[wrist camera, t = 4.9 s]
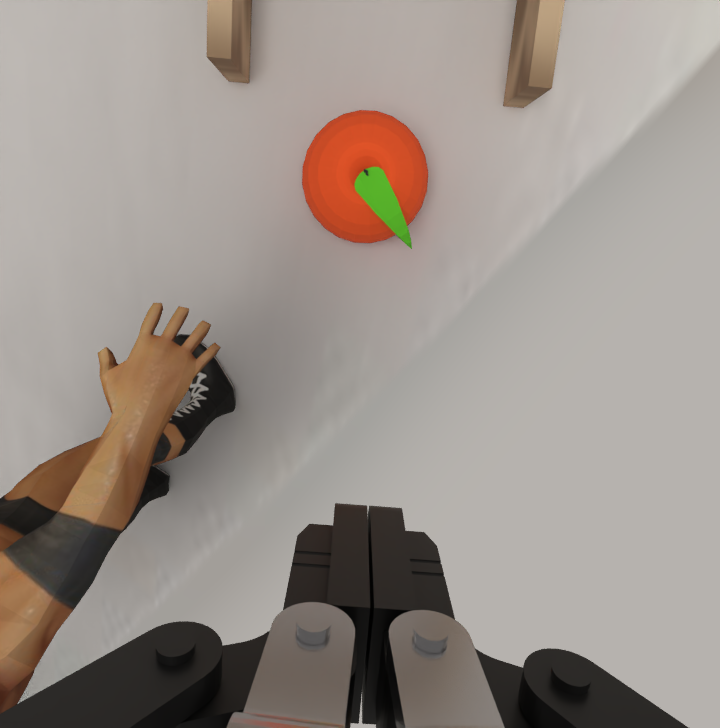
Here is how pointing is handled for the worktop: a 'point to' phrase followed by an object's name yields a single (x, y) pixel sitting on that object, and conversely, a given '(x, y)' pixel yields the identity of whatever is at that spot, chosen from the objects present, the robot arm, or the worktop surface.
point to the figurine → (99, 487)
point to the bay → (526, 64)
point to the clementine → (365, 177)
